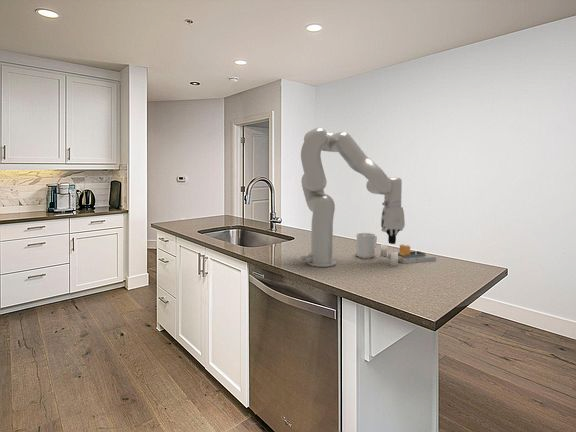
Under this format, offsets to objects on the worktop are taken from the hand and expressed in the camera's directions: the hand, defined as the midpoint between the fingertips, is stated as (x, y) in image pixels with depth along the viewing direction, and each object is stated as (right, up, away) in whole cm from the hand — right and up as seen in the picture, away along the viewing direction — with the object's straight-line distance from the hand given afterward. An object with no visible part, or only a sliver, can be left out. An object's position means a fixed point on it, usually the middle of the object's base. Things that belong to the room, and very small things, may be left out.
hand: (392, 243), depth 171 cm
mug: (-9, -7, +11) cm, 16 cm away
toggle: (+7, -6, +3) cm, 9 cm away
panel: (+11, -8, +4) cm, 14 cm away
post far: (-1, -7, +11) cm, 13 cm away
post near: (-1, -9, -8) cm, 12 cm away
